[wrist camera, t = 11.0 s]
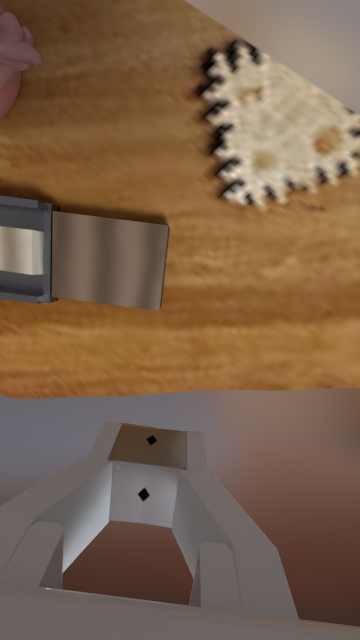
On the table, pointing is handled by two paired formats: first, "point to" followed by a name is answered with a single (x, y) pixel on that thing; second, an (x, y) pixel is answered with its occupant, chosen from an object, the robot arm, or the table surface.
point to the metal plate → (108, 260)
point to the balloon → (14, 58)
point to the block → (21, 250)
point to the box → (41, 219)
